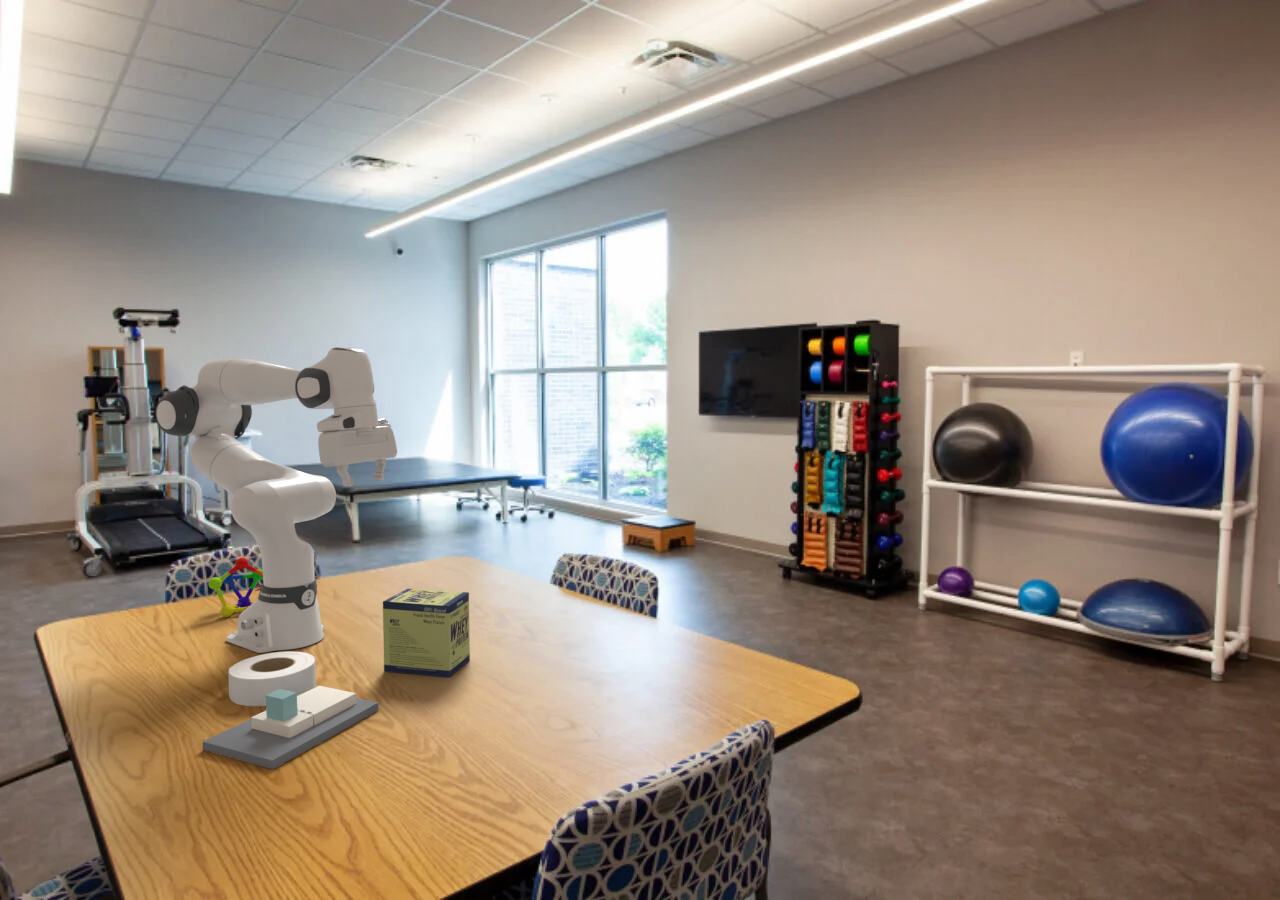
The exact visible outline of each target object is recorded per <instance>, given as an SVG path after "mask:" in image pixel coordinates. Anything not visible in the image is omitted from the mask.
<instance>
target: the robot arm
mask: <svg viewBox="0 0 1280 900" xmlns="http://www.w3.org/2000/svg"><path fill="white" fill-rule="evenodd" d="M373 375H374V374H373V370H372V365H371V361H370V358H369V356H368V354H367V351H365V350H363V349H362V348H357V347H346V346H345V347H343V346H341V347H340V346H338V347H333V348H330V349H329V350H328V352H327V355H326V356H325V357H323V358H322V359H321V360H320V361H318V362H317V363H315V364H313V365H311V366H309V367H305V368H303V369H297V368H292V367H288V366H283V365H278V364H275V363H274V364H273V363H270V362H266V361H261V360H257V359H250V358H240V357H239V358H238V357H234V358H233V357H232V358H221V359H215V360H212V361H209V362H207V363H206V364H204V365H203V366H202V367H201V368H200V370H199V372H198V376H197V382H196V384H195V385H194V386H191V387H189V386H187V385H185V384H184V385H182V386H180V387H178V388H177V389H176V390H173V391H171V392H169V393H167V394H165V395H163V396H162V397H161V398H160V399H159V401H158V402H157V404H156V406H155V413H154V414H155V420H156V423H157V425H158V426H159V428H160V430H161V431H162V432H164V433H165V434H166V435H170V436H174V437H187V436H191V437H192V436H195V440H194V441H193V443H192V445H191V447H190V450H189V455H190V459H191V461H192V463H193V464H194V466H195V467H197V469H198V470H199V471H200V472H201V473H202V474H203V475H204V476H205V477H207V478H208V480H211V482H213V483H215V484H216V485H217V486H219V487H220V488H222V489H224V490H225V491H226V492H228V493H230V494H231V495H232V497H231V501H230V512H231V515H232V517H233V519H234V521H235V523H237V524H238V526H240V527H241V528H243V529H244V530H246V531H248V533H250V534H251V536H252V537H253V539H254V540H255V542H256V544H257V546H258V549H259V551H260V557H261V567H262V569H261V570H263V579H262V582H263V583H262V584H259V585H255V587H254V589H255V590H254V591H255V592H258V591H259V592H258V593H259V594H258V597H257V599H256V600H255V601H254V602H252V603H253V604H252V605H251V606H248V608H247V609H246V610H244V611H241V613H240V614H239V616H238V619H237V630H236V631H234V632H232V633H230V634H229V635H228V636H226V642H227V643H231V644H232V645H236V646H237V647H238V646H239V647H241V648H244V649H247V650H249V651H252V652H255V653H259V654H262V653H263V654H265V653H268V652H270V653H271V652H273V651H288V650H295V649H300V648H304V647H308V646H311V645H313V644H316V643H318V642H320V641H322V640H323V639H324V638H325V634H324V630H325V627H324V624H322V620H321V614H320V606H319V600H318V598H317V594H318V584H317V583H318V582H317V579H316V578H315V558H314V556H315V555H314V553H315V552H314V549H313V547H312V546H311V544H309V543H308V542H307V541H304V540H302V539H301V538H299V536H298V535H297V531H296V528H295V524H296V523H297V524H298V523H301V522H302V523H303V522H307V521H311V520H315V519H317V518H319V517H322V516H323V515H326V514H328V513H329V512H331V511H332V510H333V509H334V507H335V506H336V502H337V501H336V500H337V492H336V489H335V486H334V484H333V482H332V481H331V480H330V479H329V478H327V477H326V476H323V475H317V474H311V473H307V472H304V471H300V470H297V469H294V468H293V467H289V466H287V465H283V464H280V463H278V462H274V461H272V460H270V459H267V458H265V457H264V456H263V455H260V454H259V453H257V452H256V451H254V450H253V449H252V448H249V447H248V446H247V445H245V444H243V443H241V442H240V441H239V440H237V439H240V438H241V437H243V435H244V433H245V431H246V429H247V428H248V426H249V425H250V421H251V419H252V416H253V409H252V406H256V405H257V406H258V405H264V404H269V403H275V402H282V401H286V400H291V399H292V400H293V399H298V401H299V403H300V404H301V405H303V406H304V407H305V408H307V409H311V410H312V409H313V410H329V409H330V410H332V409H333V414H331V415H329V416H327V417H326V418H323V419H322V420H320V421H318V422H317V424H316V430H317V431H318V432H319V433H320V434H319V435H318V440H317V441H318V443H317V445H318V454H319V460H320V463H321V464H322V466H323V467H324V468H333V467H335V468H336V473H337V474H338V475H339V477H340V478H341V481H342V486H343V487H351V486H354V484H355V482H354V477H353V476H352V477H351V475H350V473H349V472H348V471H349V469H350V468H349V467H350V466H349V465H354V464H361V463H366V462H374V465H375V466H376V467H375V472H373V473H372V477H373V481H375V482H377V481H383V480H384V479H385V475H384V472H385V469H386V466H387V459H394V458H396V457H397V453H398V447H397V443H396V439H395V434H394V431H393V429H392V425H391V423H390V422H389V421H388V420H387V419H386V418H378V409H377V402H376V400H375V397H374V392H375V383H374V376H373Z"/></svg>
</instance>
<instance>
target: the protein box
mask: <svg viewBox="0 0 1280 900" xmlns="http://www.w3.org/2000/svg"><path fill="white" fill-rule="evenodd" d="M382 623H383V624H382V626H383V627H382V628H383V670H384V671H383V672H389V673H399V674H409V675H410V674H411V675H419V676H429V677H439V678H440V677H443V678H450V677H452V676H453V675H454V674H455V673H457V671H459V670H460V669H461V668H463V667H464V666H465V665H466V664H467V663H469V661H470V660H471V650H470V648H471V647H470V592H468V591H450V590H432V589H431V590H430V589H418V588H406V589H404V590H403V591H400V592H399V593H396V594H395V595H393V596H391V597H389V598H387V599H384V600H383V601H382Z"/></svg>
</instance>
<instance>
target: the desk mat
mask: <svg viewBox="0 0 1280 900" xmlns="http://www.w3.org/2000/svg"><path fill="white" fill-rule="evenodd" d="M379 708H380V707H379V702H377V701H372V700H368V699H364V698H359V697H356V704H354V705H353V706H351V707H349V708H347V709H345V710H343V711H341V712H339V713H337V714H335V715H334V716H332V717H330V718H328V719H326V720H324V721H322V722H320V723H318V724H317V725H315V726H314V725H313V726H312V727H310V728H308V729H307V730H305V731H303V732H301V733H299V734H297V735H295V736H293V737H291V738H288V737H284V736H280V735H276V734H272V733H268V732H264V731H260V730H256V729H252V723H251V718H250V719H248V720H245V721H243V722H241V723H238V724H237V725H235V726H233V727H230V728H228V729H227V730H224V731H222V732H220V733H218V734H216V735H215V734H214V736H211V737H209V738H207V739H205V740H203V741H202V751H204V750H206V751H205V752H208V751H209V752H208V753H211V752H213V754H215V753H217V754H216V755H219V754H221V755H220V756H222V755H225V756H224V757H226V756H228V757H227V758H230V757H231V759H233V758H235V759H234V760H237V759H238V761H240V760H241V762H244V761H245V763H249V764H251V763H252V765H256V766H259V767H262V766H263V767H264V768H266V769H270V770H274V769H276V768H278V767H280V766H282V765H283V764H285V763H287V762H289V761H291V760H292V759H294V758H296V757H297V756H298V757H299V755H301V754H303V753H305V752H307V751H308V750H311V749H313V748H314V747H316V746H317V745H319V744H321V743H323V742H325V741H326V740H328V739H330V738H331V737H333V736H335V735H337V734H339V733H341V732H342V731H344V730H346V729H348V728H350V727H352V726H353V725H355V724H357V723H359V722H361V721H363V720H364V719H366V718H367V717H369V716H371V715H373V714H375V713H377V712H378V711H379Z"/></svg>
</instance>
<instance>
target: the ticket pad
mask: <svg viewBox="0 0 1280 900" xmlns="http://www.w3.org/2000/svg"><path fill="white" fill-rule="evenodd" d="M356 698H357V693H356V692H352V691H351V692H350V691H347V690H342V689H337V688H332V687H328V686H323V685H318V686H316V687H315V688H313V689H311V690H309V691H307V692H305V693H303V694H301V695H298V696H297V711H298V712H302V713H307V714H311V715H313V725H314V726H315V725H317V724H318V723H320V722H322V721H324V720H326V719H328V718H330V717H332V716H334V715H335V714H337V713H339V712H341V711H343V710H345V709H347V708H349V707H351V706H353V705H354V704H356Z"/></svg>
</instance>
